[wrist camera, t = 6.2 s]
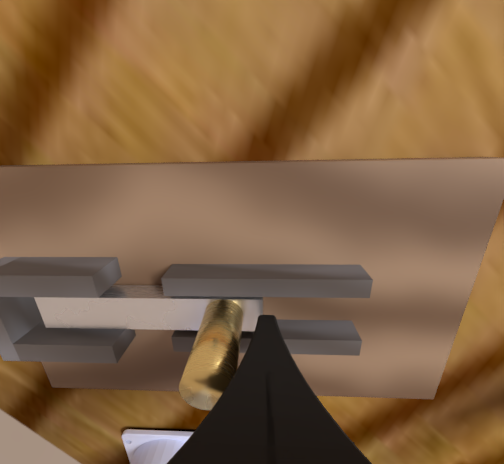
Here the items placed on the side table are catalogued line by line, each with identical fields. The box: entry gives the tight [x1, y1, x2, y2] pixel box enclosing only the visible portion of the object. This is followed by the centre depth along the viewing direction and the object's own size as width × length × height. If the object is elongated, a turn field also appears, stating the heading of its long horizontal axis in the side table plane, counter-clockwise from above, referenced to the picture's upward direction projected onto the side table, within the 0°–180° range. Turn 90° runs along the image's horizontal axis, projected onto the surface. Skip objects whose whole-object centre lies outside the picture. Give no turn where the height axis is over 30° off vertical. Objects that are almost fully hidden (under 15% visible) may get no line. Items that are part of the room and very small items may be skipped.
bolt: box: [34, 285, 263, 410], centre depth 11 cm, size 2×12×5 cm, turn 91°
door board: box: [0, 157, 504, 399], centre depth 13 cm, size 15×26×4 cm, turn 91°
